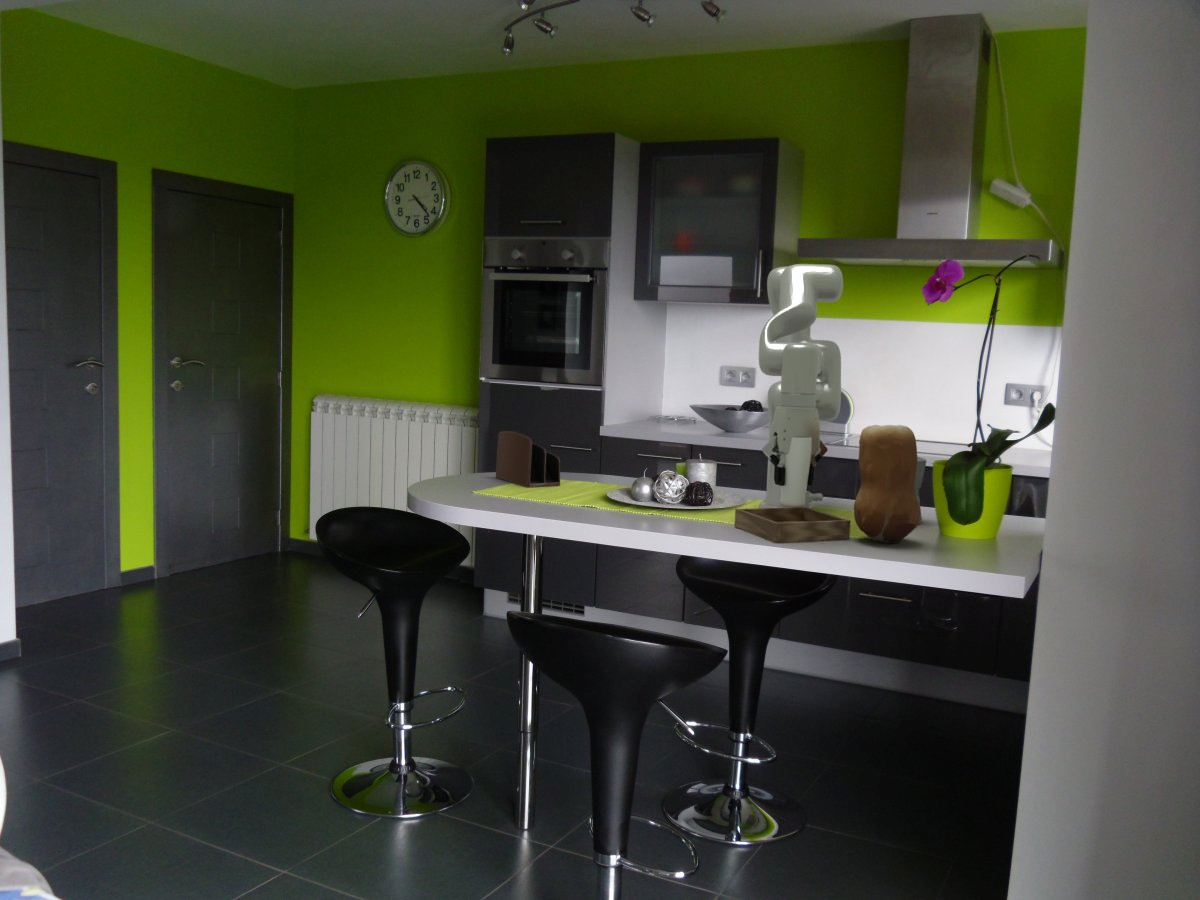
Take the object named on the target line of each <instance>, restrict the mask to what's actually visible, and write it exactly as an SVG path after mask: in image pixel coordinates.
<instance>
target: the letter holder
mask: <svg viewBox="0 0 1200 900" xmlns="http://www.w3.org/2000/svg"><path fill="white" fill-rule="evenodd" d="M495 463H496V466H495V467H496V468H495V478H496V479H499V480H502V481H505V482H509V483H511V484H515V485H518V486H521V487H524V488H527V489H529V488H530V489H531V488H533V489H534V488H548V487H561V460H560V457H559V456H557V455H556V454H555V453H551V452H550V451H547V450H546V449H545V447H542V446H541V445H538V444H537V443H534V442H533V440H532V438H531V437H529V436H528V435H525V434H524V433H523V434H522V433H520V432H517V431H511V430H505V431H504V430H503V431H499V432H498V434H497V450H496V462H495Z"/></svg>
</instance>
